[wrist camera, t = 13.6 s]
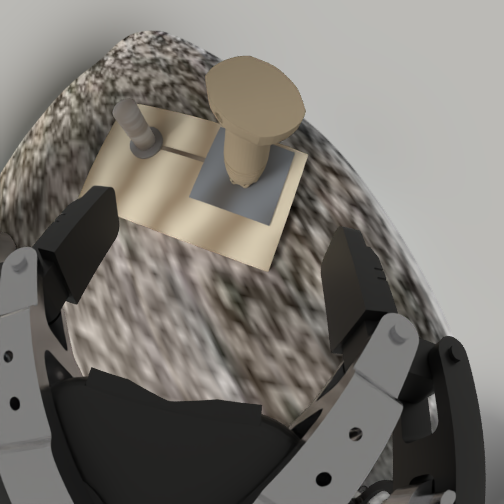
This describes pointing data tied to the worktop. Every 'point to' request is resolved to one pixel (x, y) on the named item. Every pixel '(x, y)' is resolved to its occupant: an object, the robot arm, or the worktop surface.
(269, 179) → the plate
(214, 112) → the handle
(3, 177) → the worktop surface
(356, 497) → the coffee press
